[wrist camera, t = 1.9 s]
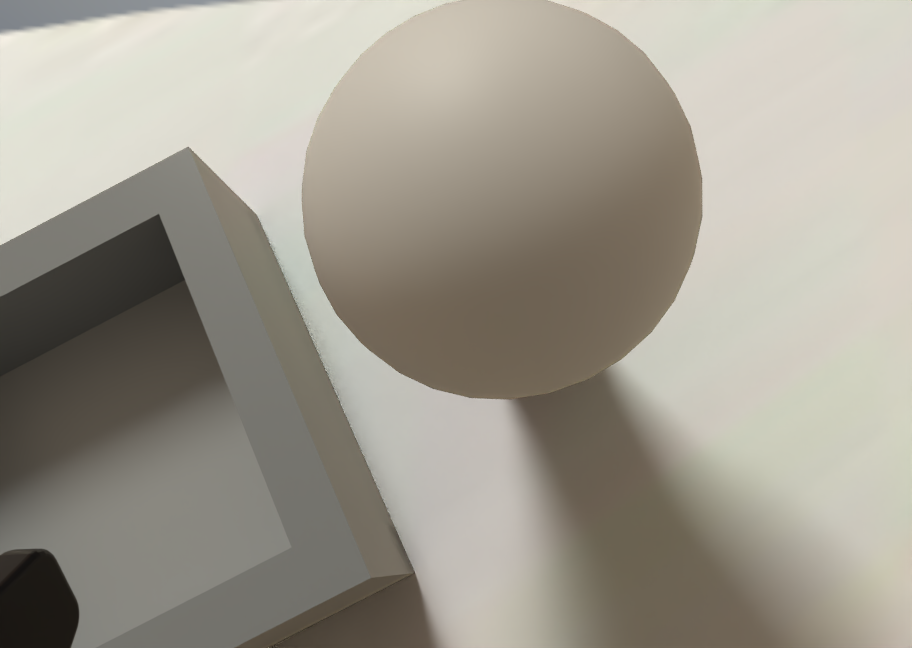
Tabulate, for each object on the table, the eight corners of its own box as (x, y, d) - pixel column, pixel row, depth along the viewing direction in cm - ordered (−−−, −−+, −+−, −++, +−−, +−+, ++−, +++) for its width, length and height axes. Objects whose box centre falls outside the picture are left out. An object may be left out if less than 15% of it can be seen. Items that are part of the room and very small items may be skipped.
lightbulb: (673, 229, 21) (753, -102, 10) (646, 474, 19) (706, 381, 9) (436, 206, 22) (290, -110, 11) (393, 435, 20) (183, 314, 10)
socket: (415, 573, 20) (371, 577, 16) (26, 770, 20) (-109, 822, 16) (256, 214, 23) (188, 146, 19) (-77, 388, 23) (-210, 356, 19)
